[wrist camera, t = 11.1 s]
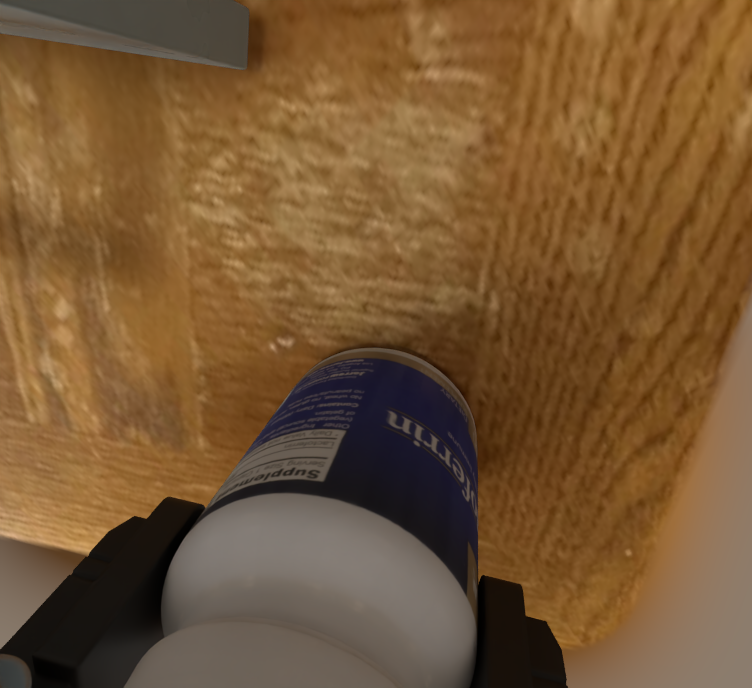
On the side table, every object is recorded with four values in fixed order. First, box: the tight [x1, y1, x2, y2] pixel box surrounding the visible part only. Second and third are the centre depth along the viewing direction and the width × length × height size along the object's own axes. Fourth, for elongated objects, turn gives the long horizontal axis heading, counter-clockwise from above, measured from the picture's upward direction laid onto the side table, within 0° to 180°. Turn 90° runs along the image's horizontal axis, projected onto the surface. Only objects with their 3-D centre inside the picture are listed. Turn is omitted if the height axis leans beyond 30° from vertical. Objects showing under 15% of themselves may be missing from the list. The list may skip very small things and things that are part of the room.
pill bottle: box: [124, 348, 478, 688], centre depth 11 cm, size 6×6×10 cm
